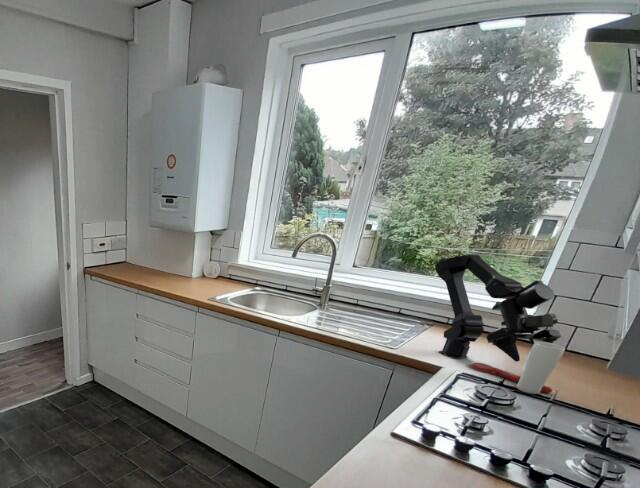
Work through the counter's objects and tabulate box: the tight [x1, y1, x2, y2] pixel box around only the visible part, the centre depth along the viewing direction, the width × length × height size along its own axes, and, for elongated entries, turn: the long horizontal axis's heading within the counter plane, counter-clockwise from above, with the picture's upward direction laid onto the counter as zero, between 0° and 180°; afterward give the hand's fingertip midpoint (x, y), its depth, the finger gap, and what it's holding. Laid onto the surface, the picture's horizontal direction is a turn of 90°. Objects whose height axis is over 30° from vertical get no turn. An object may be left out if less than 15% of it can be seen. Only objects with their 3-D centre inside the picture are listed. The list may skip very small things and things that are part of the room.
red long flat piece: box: [470, 362, 553, 394], centre depth 132 cm, size 22×6×2 cm, turn 17°
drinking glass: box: [516, 341, 566, 395], centre depth 122 cm, size 7×7×15 cm
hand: (532, 361), depth 123 cm, fingers open, 9 cm apart
